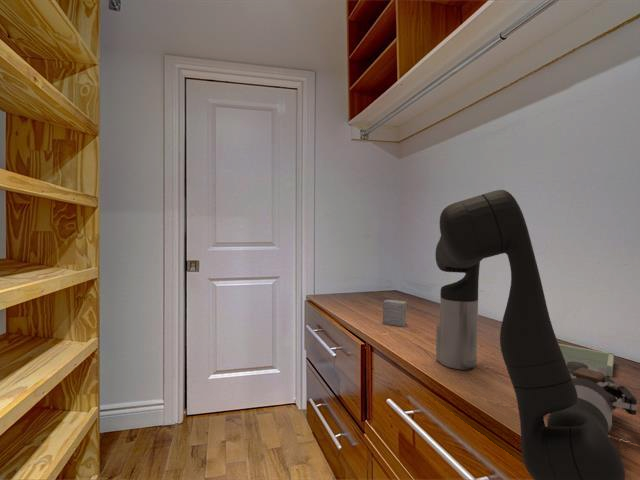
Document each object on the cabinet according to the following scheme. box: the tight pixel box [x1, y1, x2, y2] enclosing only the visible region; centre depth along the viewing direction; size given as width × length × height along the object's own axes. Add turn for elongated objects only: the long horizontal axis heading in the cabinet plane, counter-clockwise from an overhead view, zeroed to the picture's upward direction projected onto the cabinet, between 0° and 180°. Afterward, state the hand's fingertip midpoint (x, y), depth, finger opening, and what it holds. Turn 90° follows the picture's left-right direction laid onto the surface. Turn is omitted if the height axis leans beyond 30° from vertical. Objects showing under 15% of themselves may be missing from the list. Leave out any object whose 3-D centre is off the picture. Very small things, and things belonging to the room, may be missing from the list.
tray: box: [558, 343, 615, 378], centre depth 93 cm, size 12×13×2 cm
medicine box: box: [382, 299, 408, 328], centre depth 132 cm, size 8×4×9 cm, turn 59°
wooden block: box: [574, 368, 605, 383], centre depth 68 cm, size 4×4×8 cm
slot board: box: [563, 354, 608, 377], centre depth 85 cm, size 34×11×2 cm, turn 139°
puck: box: [567, 362, 588, 370], centre depth 84 cm, size 4×4×3 cm
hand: (589, 377), depth 70 cm, fingers closed on wooden block, 4 cm apart
